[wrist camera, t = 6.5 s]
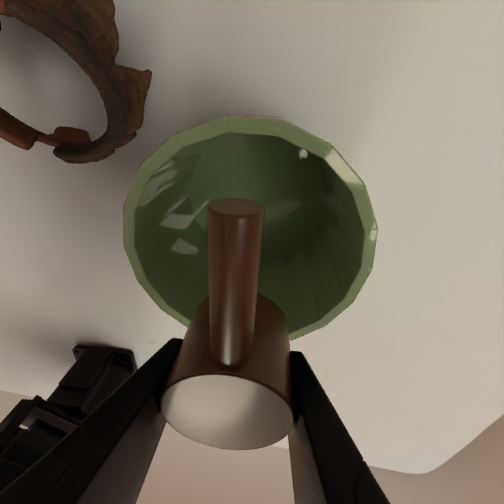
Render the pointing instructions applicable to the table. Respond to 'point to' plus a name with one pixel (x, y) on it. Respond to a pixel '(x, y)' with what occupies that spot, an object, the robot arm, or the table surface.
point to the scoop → (233, 345)
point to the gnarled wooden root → (97, 68)
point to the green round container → (275, 222)
